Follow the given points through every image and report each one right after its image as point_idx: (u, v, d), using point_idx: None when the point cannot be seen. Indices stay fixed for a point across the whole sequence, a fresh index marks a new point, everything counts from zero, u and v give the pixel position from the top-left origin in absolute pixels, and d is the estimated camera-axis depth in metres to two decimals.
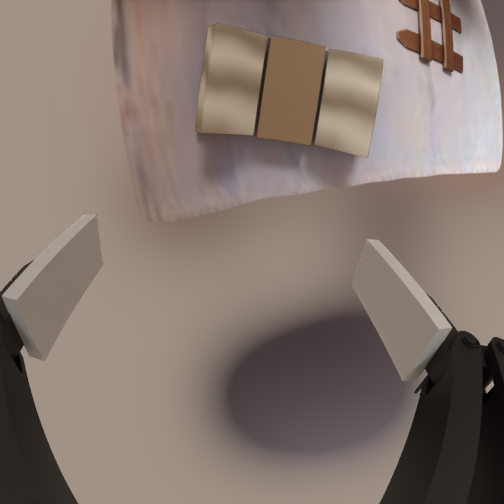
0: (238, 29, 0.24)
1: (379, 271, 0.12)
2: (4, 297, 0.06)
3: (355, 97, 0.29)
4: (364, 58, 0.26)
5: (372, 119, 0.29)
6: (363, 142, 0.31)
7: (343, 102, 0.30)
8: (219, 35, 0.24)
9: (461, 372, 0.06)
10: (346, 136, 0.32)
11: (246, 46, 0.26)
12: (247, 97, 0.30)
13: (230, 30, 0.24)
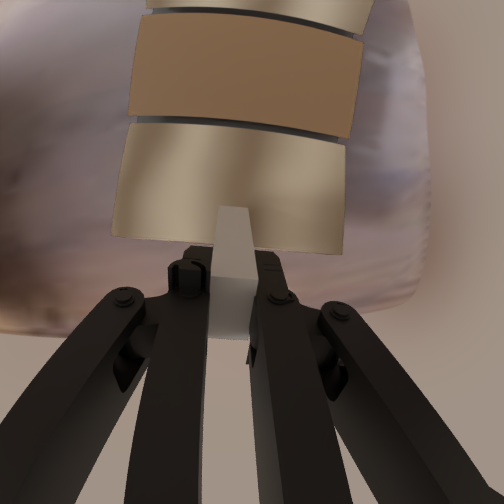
0: (120, 186, 0.15)
1: None
2: (214, 276, 0.09)
3: None
4: None
5: None
6: None
7: None
8: (136, 226, 0.15)
9: (275, 340, 0.07)
10: None
11: (156, 164, 0.15)
12: (270, 156, 0.16)
13: (124, 203, 0.15)
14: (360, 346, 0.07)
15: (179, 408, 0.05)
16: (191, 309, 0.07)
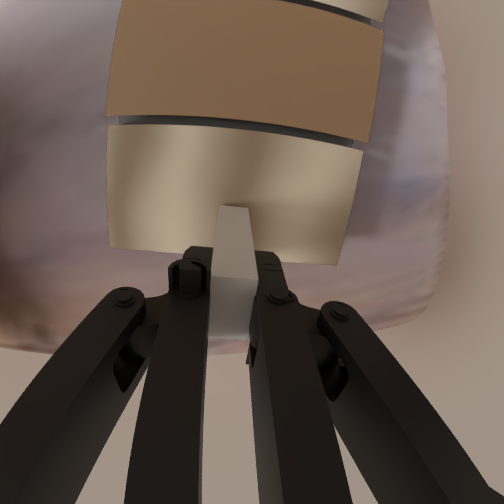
0: (109, 200, 0.14)
1: None
2: (215, 277, 0.09)
3: None
4: None
5: None
6: None
7: None
8: (133, 239, 0.15)
9: (275, 340, 0.07)
10: None
11: (144, 175, 0.13)
12: (272, 165, 0.14)
13: (117, 217, 0.14)
14: (360, 346, 0.07)
15: (180, 408, 0.05)
16: (191, 309, 0.07)
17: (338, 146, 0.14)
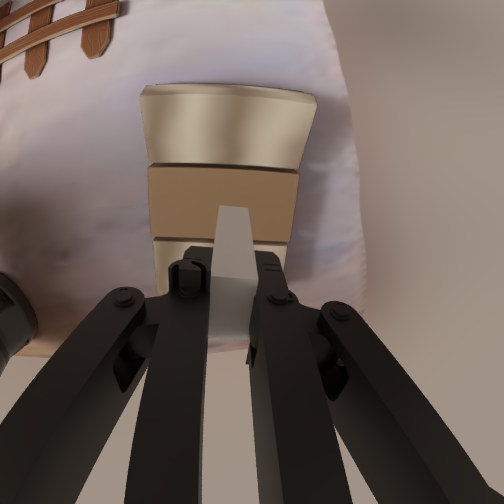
0: (157, 276, 0.29)
1: None
2: (215, 277, 0.09)
3: (218, 124, 0.21)
4: (149, 120, 0.20)
5: (251, 99, 0.19)
6: (292, 110, 0.20)
7: (229, 138, 0.22)
8: None
9: (275, 340, 0.07)
10: (284, 132, 0.21)
11: None
12: None
13: (162, 284, 0.29)
14: (360, 346, 0.07)
15: (180, 408, 0.05)
16: (191, 309, 0.07)
17: (272, 246, 0.29)
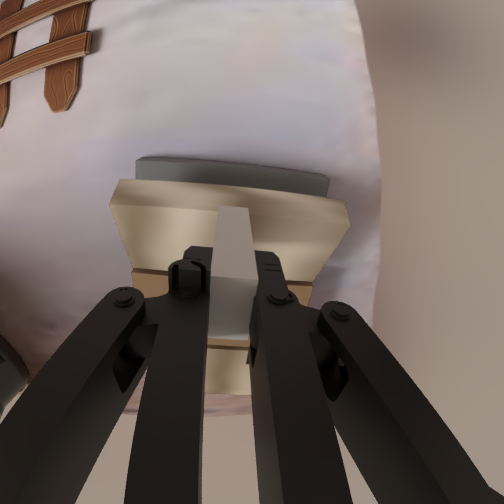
0: None
1: None
2: (215, 277, 0.09)
3: None
4: (126, 230, 0.16)
5: (263, 219, 0.15)
6: (316, 231, 0.16)
7: None
8: None
9: (275, 340, 0.07)
10: (301, 252, 0.18)
11: None
12: (237, 362, 0.25)
13: None
14: (360, 346, 0.07)
15: (180, 408, 0.05)
16: (191, 309, 0.07)
17: None
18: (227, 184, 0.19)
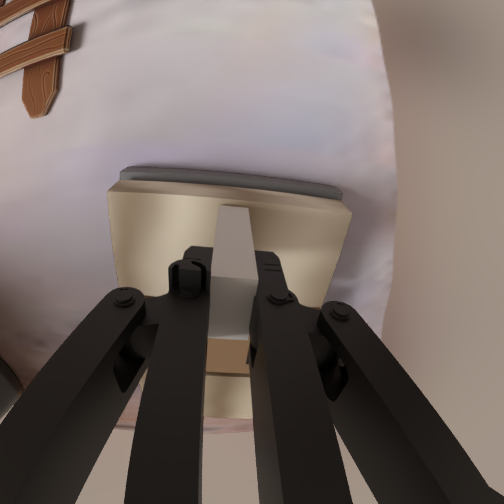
0: None
1: None
2: (215, 277, 0.09)
3: None
4: (118, 230, 0.15)
5: (264, 207, 0.15)
6: (319, 223, 0.15)
7: None
8: None
9: (275, 340, 0.07)
10: (306, 257, 0.16)
11: None
12: (237, 388, 0.22)
13: None
14: (360, 346, 0.07)
15: (180, 408, 0.05)
16: (191, 309, 0.07)
17: None
18: None
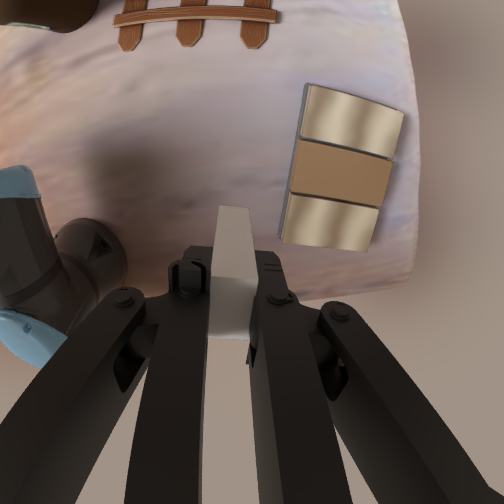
0: (288, 223, 0.39)
1: None
2: (215, 277, 0.09)
3: (354, 116, 0.32)
4: (313, 103, 0.31)
5: (373, 104, 0.31)
6: (392, 114, 0.31)
7: (358, 128, 0.32)
8: (294, 239, 0.40)
9: (275, 340, 0.07)
10: (387, 129, 0.32)
11: (304, 216, 0.38)
12: (348, 215, 0.39)
13: (290, 230, 0.39)
14: (360, 346, 0.07)
15: (180, 408, 0.05)
16: (191, 309, 0.07)
17: (370, 208, 0.38)
18: None
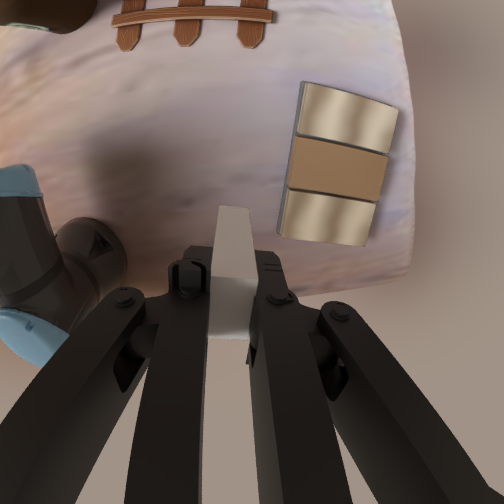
0: (286, 219, 0.39)
1: None
2: (215, 277, 0.09)
3: (349, 112, 0.32)
4: (310, 100, 0.31)
5: (368, 101, 0.31)
6: (387, 110, 0.32)
7: (354, 124, 0.33)
8: (293, 235, 0.40)
9: (275, 340, 0.07)
10: (382, 125, 0.33)
11: (302, 211, 0.39)
12: (346, 210, 0.39)
13: (288, 226, 0.40)
14: (360, 346, 0.07)
15: (180, 408, 0.05)
16: (191, 309, 0.07)
17: (367, 203, 0.39)
18: None
